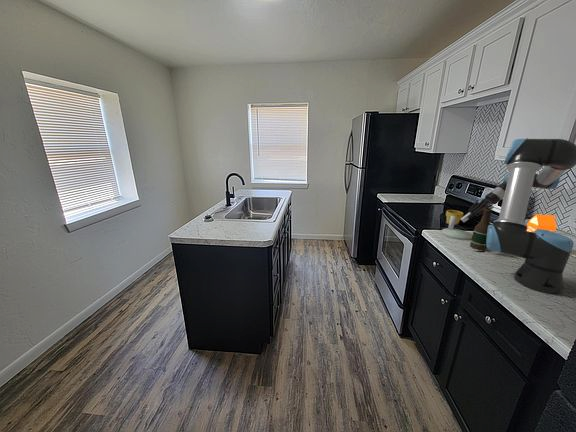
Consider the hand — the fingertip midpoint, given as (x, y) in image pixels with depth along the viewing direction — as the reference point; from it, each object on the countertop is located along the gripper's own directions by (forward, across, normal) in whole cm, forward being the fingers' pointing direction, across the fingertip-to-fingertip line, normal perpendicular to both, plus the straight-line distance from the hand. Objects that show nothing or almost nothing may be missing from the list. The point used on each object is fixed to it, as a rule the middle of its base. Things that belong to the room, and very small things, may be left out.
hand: (462, 220), depth 160 cm
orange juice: (-15, -20, -28) cm, 37 cm away
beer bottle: (+10, -25, -2) cm, 27 cm away
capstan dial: (+10, -6, -1) cm, 12 cm away
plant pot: (+3, +18, -11) cm, 21 cm away
